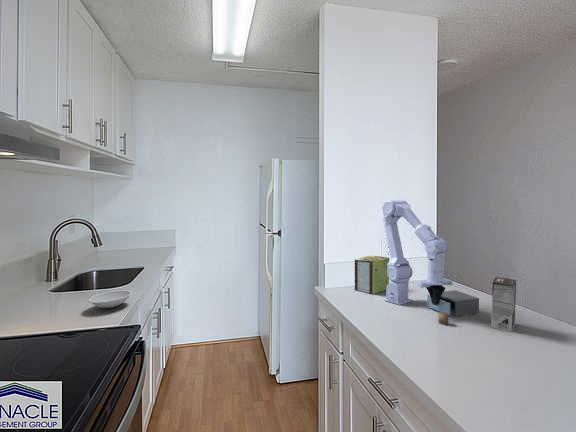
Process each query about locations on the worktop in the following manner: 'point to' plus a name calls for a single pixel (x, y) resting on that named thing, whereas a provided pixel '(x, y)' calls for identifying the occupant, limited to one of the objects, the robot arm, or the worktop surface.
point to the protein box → (371, 274)
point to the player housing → (462, 302)
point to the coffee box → (503, 304)
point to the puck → (451, 304)
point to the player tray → (440, 306)
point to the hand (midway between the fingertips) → (435, 304)
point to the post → (443, 318)
